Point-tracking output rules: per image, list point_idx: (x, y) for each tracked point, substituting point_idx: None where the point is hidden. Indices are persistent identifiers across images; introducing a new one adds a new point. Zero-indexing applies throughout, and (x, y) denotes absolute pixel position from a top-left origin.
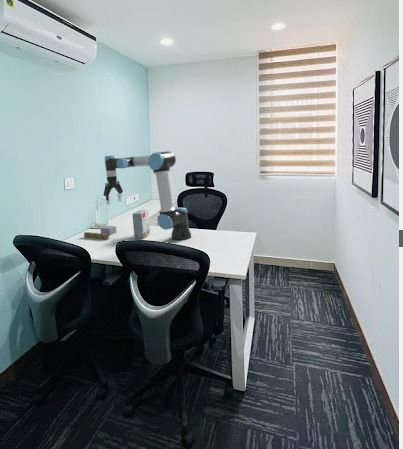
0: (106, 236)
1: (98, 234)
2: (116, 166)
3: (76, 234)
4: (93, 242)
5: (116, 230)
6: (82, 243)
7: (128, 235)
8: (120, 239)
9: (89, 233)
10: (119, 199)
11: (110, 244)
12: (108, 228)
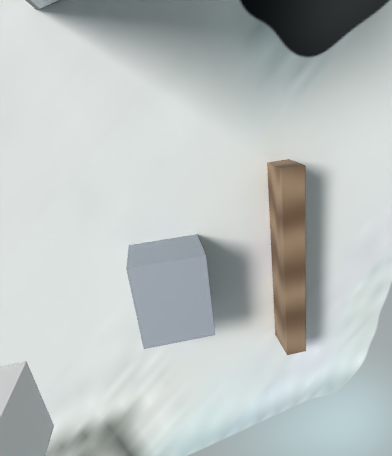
0: (299, 164)
1: (304, 237)
2: None
3: (259, 416)
4: (357, 194)
5: (128, 253)
6: (387, 237)
7: (135, 97)
8: (246, 67)
9: (305, 309)
10: (26, 442)
11: (368, 34)
12: (206, 262)
